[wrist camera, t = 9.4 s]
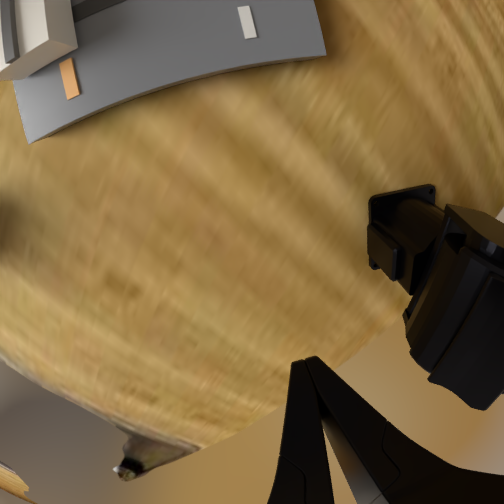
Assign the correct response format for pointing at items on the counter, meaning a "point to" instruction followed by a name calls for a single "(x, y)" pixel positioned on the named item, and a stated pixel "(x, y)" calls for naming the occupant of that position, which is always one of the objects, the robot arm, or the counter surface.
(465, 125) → the counter surface
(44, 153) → the counter surface
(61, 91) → the fader console
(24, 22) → the fader tab
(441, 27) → the counter surface
